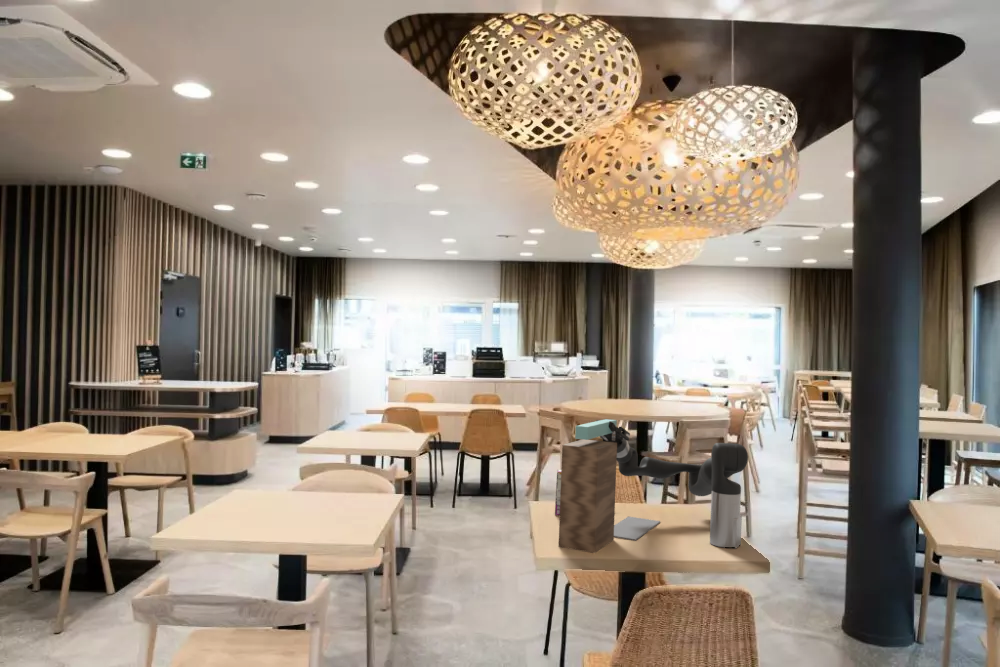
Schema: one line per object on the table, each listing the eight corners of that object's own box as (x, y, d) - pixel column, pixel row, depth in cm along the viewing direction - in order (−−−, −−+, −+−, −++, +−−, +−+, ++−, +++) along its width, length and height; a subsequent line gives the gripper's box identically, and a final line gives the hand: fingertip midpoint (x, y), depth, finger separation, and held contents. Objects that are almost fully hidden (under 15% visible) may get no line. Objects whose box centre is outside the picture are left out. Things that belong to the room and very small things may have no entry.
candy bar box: (554, 515, 270) (556, 471, 270) (555, 512, 275) (556, 469, 275) (585, 517, 269) (586, 473, 269) (584, 514, 274) (586, 470, 274)
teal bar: (616, 431, 251) (616, 420, 251) (587, 439, 226) (587, 427, 226) (605, 430, 253) (605, 419, 253) (575, 438, 228) (575, 425, 228)
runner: (660, 522, 265) (660, 521, 265) (635, 540, 239) (635, 539, 239) (628, 517, 271) (628, 516, 271) (601, 535, 244) (601, 533, 244)
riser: (613, 539, 239) (617, 442, 239) (594, 552, 223) (598, 448, 223) (579, 534, 244) (583, 439, 245) (558, 546, 228) (562, 444, 229)
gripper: (634, 455, 253) (621, 435, 240) (595, 451, 259) (581, 431, 246) (637, 436, 256) (625, 414, 243) (599, 432, 263) (585, 411, 250)
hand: (603, 423), depth 245 cm, fingers closed on teal bar, 4 cm apart
